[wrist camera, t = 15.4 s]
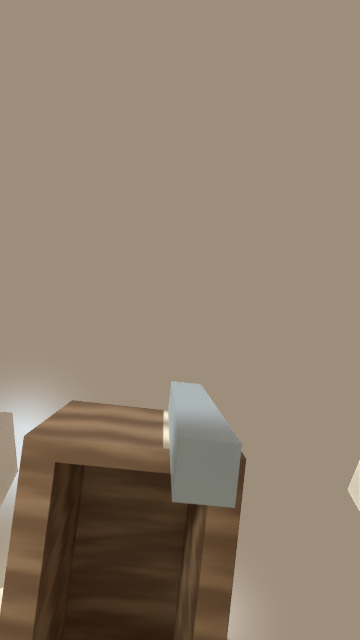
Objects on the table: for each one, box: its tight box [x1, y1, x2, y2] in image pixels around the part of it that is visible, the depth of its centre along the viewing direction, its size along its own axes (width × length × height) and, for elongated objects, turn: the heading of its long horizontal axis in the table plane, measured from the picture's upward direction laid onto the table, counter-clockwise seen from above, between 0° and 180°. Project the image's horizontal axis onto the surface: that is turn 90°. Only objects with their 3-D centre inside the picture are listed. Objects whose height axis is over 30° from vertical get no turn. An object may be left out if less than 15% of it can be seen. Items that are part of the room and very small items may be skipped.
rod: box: [168, 381, 242, 508], centre depth 34 cm, size 25×4×4 cm, turn 2°
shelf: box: [0, 401, 246, 640], centre depth 38 cm, size 16×20×30 cm
